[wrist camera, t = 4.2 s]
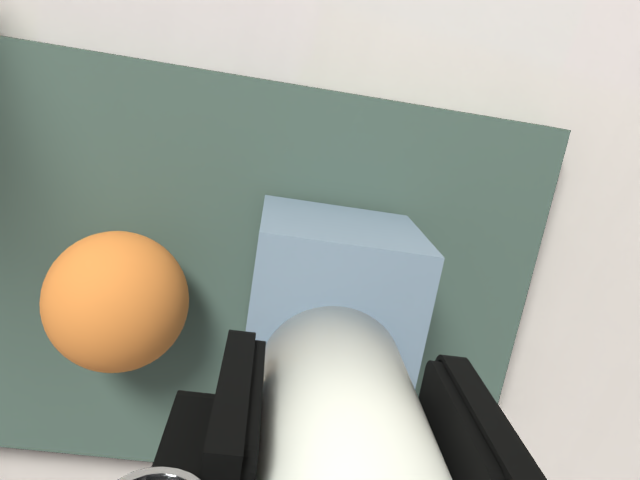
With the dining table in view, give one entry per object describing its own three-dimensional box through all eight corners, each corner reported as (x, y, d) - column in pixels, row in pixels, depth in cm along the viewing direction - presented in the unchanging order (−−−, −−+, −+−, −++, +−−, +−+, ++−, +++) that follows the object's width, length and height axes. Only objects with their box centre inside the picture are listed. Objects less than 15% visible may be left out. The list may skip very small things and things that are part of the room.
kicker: (407, 215, 17) (627, 463, 6) (368, 404, 18) (488, 871, 7) (265, 194, 16) (228, 421, 6) (238, 389, 18) (168, 859, 7)
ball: (204, 226, 17) (183, 266, 13) (191, 342, 17) (168, 408, 14) (72, 207, 16) (15, 244, 13) (66, 327, 17) (11, 391, 14)
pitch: (551, 126, 18) (570, 130, 16) (463, 470, 21) (473, 493, 20) (-143, 11, 16) (-178, 6, 15) (-128, 409, 19) (-155, 431, 18)
